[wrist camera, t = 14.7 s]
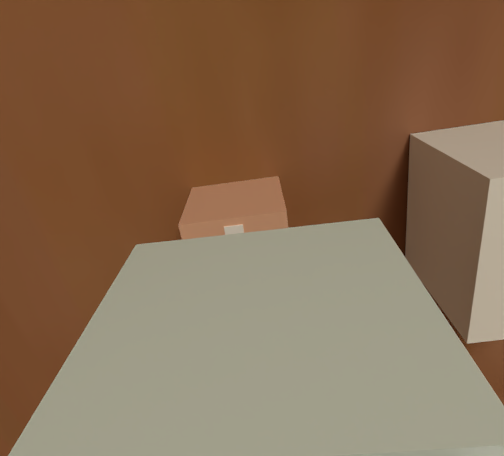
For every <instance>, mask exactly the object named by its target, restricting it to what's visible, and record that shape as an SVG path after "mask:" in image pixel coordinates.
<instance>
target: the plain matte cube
mask: <svg viewBox="0 0 504 456" xmlns="http://www.w3.org/2000/svg"><path fill="white" fill-rule="evenodd" d="M8 456H504V406H503V404H502V402H501V401H500V399H499V398H498V396H497V395H496V393H495V392H494V390H493V389H492V387H491V386H490V384H489V383H488V381H487V380H486V378H485V377H484V375H483V374H482V372H481V371H480V369H479V368H478V366H477V365H476V363H475V362H474V360H473V359H472V357H471V356H470V354H469V353H468V351H467V350H466V348H465V347H464V345H463V344H462V342H461V341H460V339H459V338H458V336H457V335H456V333H455V332H454V330H453V329H452V327H451V326H450V324H449V323H448V321H447V320H446V318H445V317H444V315H443V314H442V312H441V311H440V309H439V308H438V306H437V305H436V303H435V301H434V300H433V298H432V297H431V295H430V294H429V292H428V291H427V289H426V288H425V286H424V285H423V283H422V282H421V280H420V279H419V277H418V276H417V274H416V273H415V271H414V270H413V268H412V267H411V265H410V264H409V262H408V261H407V259H406V258H405V256H404V255H403V253H402V252H401V250H400V249H399V247H398V246H397V244H396V243H395V241H394V240H393V238H392V237H391V235H390V234H389V232H388V231H387V229H386V228H385V226H384V225H383V223H382V222H381V220H380V219H379V218H373V219H364V220H355V221H346V222H337V223H328V224H319V225H310V226H301V227H292V228H283V229H274V230H265V231H256V232H247V233H237V234H228V235H219V236H210V237H201V238H192V239H183V240H174V241H165V242H156V243H147V244H138V245H136V246H135V247H134V249H133V251H132V252H131V254H130V256H129V257H128V259H127V261H126V262H125V264H124V266H123V267H122V269H121V271H120V272H119V274H118V275H117V277H116V279H115V280H114V282H113V284H112V285H111V287H110V289H109V290H108V292H107V294H106V295H105V297H104V299H103V300H102V302H101V303H100V305H99V307H98V308H97V310H96V312H95V313H94V315H93V317H92V318H91V320H90V322H89V323H88V325H87V327H86V328H85V330H84V332H83V333H82V335H81V336H80V338H79V340H78V341H77V343H76V345H75V346H74V348H73V350H72V351H71V353H70V355H69V356H68V358H67V360H66V361H65V363H64V364H63V366H62V368H61V369H60V371H59V373H58V374H57V376H56V378H55V379H54V381H53V383H52V384H51V386H50V388H49V389H48V391H47V393H46V394H45V396H44V397H43V399H42V401H41V402H40V404H39V406H38V407H37V409H36V411H35V412H34V414H33V416H32V417H31V419H30V421H29V422H28V424H27V426H26V427H25V429H24V430H23V432H22V434H21V435H20V437H19V439H18V440H17V442H16V444H15V445H14V447H13V449H12V450H11V452H10V454H9V455H8Z"/></svg>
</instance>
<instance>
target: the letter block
mask: <svg viewBox="0 0 504 456" xmlns="http://www.w3.org/2000/svg"><path fill="white" fill-rule="evenodd" d="M178 226H179V230H180V234H181V238H182V240H183V239H192V238H201V237H210V236H219V235H228V234H237V233H247V232H256V231H265V230H274V229H283V228H288V221H287V211H286V207H285V203H284V198H283V194H282V190H281V185H280V181H279V177H278V176H276V177H268V178H261V179H253V180H246V181H239V182H231V183H224V184H216V185H209V186H201V187H194V188H192V189H191V192H190V195H189V198H188V200H187V203H186V206H185V208H184V211H183V214H182V216H181V219H180V222H179V225H178Z"/></svg>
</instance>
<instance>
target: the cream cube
mask: <svg viewBox="0 0 504 456" xmlns="http://www.w3.org/2000/svg"><path fill="white" fill-rule="evenodd" d="M405 258H406V259H407V261H408V262H409V264H410V265H411V267H412V268H413V270H414V271H415V273H416V274H417V276H418V277H419V279H420V280H421V282H422V283H423V284H424V286H425V287H426V288H427V290H428V291H429V293H430V294H431V295H432V297H433V298H434V299H435V301H436V302H437V303H438V305H439V306H440V308H441V309H442V310H443V312H444V313H445V314H446V316H447V317H448V318H449V320H450V321H451V323H452V324H453V325H454V327H455V328H456V329H457V331H458V332H459V333H460V335H461V336H462V338H463V339H464V340H465V342H466V343H467V344H468V343H477V342H485V341H494V340H502V339H504V120H503V121H496V122H489V123H482V124H475V125H469V126H462V127H455V128H448V129H441V130H435V131H428V132H421V133H414V134H410V148H409V173H408V198H407V223H406V247H405Z"/></svg>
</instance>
